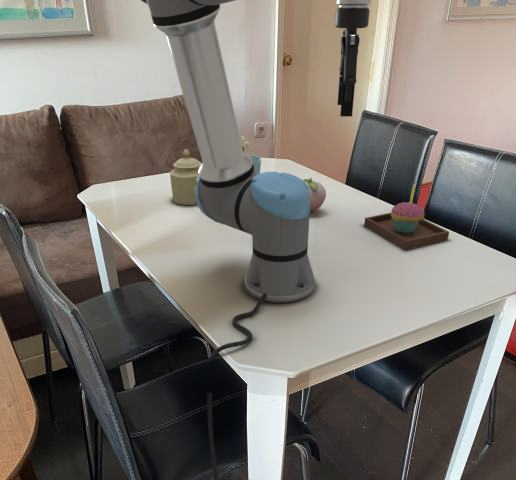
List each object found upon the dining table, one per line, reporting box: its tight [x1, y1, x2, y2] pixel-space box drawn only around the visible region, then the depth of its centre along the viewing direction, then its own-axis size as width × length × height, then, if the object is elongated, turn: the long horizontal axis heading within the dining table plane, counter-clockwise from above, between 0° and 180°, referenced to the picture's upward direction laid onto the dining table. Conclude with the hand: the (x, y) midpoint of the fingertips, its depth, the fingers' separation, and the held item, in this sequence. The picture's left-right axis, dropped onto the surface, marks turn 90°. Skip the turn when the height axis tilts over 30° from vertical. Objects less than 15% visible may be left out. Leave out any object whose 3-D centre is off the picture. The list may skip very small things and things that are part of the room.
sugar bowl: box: [169, 148, 202, 206], centre depth 153 cm, size 15×11×15 cm
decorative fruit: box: [302, 177, 327, 213], centre depth 144 cm, size 9×8×10 cm
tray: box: [363, 212, 450, 251], centre depth 133 cm, size 18×14×2 cm
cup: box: [250, 155, 262, 175], centre depth 158 cm, size 8×8×10 cm
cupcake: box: [390, 183, 425, 233], centre depth 130 cm, size 9×8×12 cm
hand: (344, 110), depth 124 cm, fingers open, 13 cm apart
